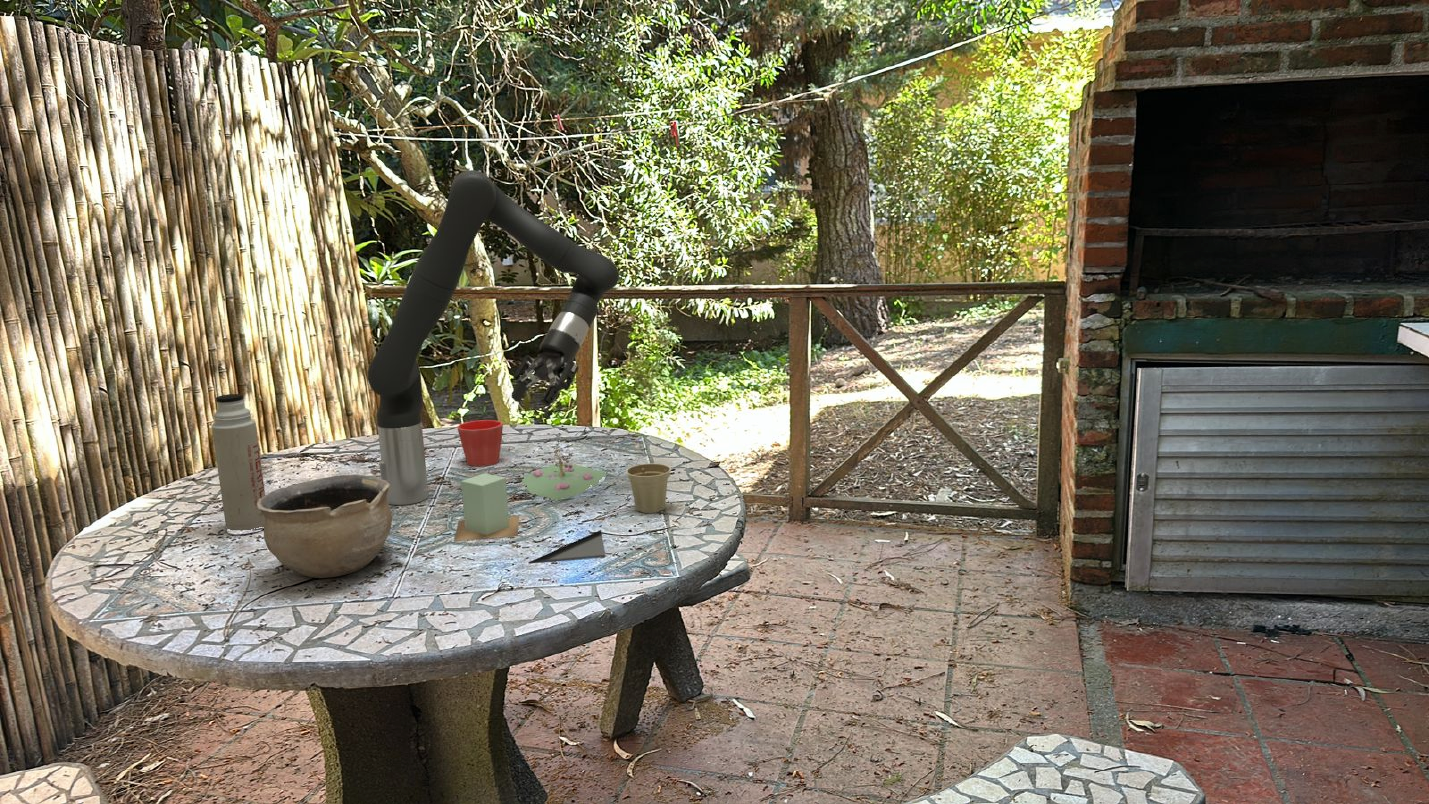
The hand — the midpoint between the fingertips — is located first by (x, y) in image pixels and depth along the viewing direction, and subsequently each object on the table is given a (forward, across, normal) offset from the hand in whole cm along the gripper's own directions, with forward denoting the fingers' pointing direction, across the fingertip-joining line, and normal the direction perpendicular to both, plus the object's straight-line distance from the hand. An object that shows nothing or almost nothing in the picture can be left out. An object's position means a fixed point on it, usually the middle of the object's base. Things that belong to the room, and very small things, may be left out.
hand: (529, 401), depth 201 cm
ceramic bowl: (+46, -10, -13) cm, 49 cm away
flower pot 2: (+7, +19, +27) cm, 34 cm away
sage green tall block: (+26, +1, +5) cm, 27 cm away
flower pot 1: (+3, -40, +31) cm, 50 cm away
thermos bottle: (+44, -45, -10) cm, 63 cm away
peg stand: (+28, +1, +6) cm, 28 cm away
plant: (+5, -10, +30) cm, 32 cm away
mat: (+25, +19, +9) cm, 33 cm away
